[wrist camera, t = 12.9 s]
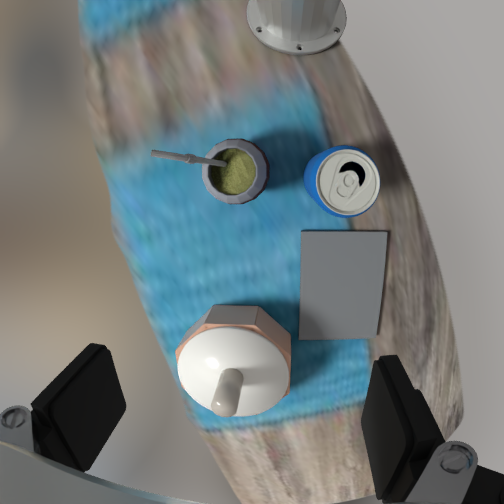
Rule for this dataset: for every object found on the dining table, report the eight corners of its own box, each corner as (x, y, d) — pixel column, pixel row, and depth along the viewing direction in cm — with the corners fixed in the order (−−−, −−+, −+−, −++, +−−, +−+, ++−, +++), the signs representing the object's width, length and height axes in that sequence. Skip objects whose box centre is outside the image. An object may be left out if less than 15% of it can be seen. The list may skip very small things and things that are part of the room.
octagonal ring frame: (183, 303, 43) (170, 321, 38) (291, 306, 42) (292, 325, 36) (195, 386, 47) (186, 408, 42) (288, 391, 45) (288, 415, 40)
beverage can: (364, 170, 36) (397, 172, 25) (337, 214, 38) (359, 234, 26) (319, 141, 36) (335, 129, 24) (292, 186, 38) (296, 194, 26)
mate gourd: (280, 186, 38) (277, 197, 23) (221, 210, 39) (184, 236, 25) (256, 130, 36) (238, 107, 22) (197, 156, 38) (148, 151, 23)
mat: (301, 230, 39) (301, 231, 38) (385, 231, 38) (387, 232, 37) (298, 337, 43) (298, 340, 42) (374, 335, 42) (375, 337, 41)
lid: (172, 323, 38) (152, 351, 31) (290, 326, 36) (290, 359, 30) (187, 407, 42) (174, 439, 35) (287, 414, 40) (286, 449, 33)
